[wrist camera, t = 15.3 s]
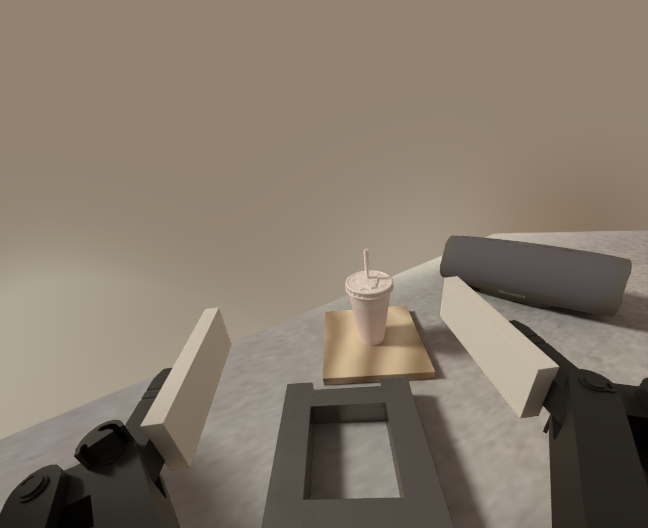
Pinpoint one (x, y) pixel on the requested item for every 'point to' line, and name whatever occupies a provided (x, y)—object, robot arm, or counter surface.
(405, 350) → the birch board
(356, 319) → the smoothie
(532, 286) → the bluetooth speaker
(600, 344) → the counter surface
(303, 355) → the counter surface
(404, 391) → the dark grey flat frame
